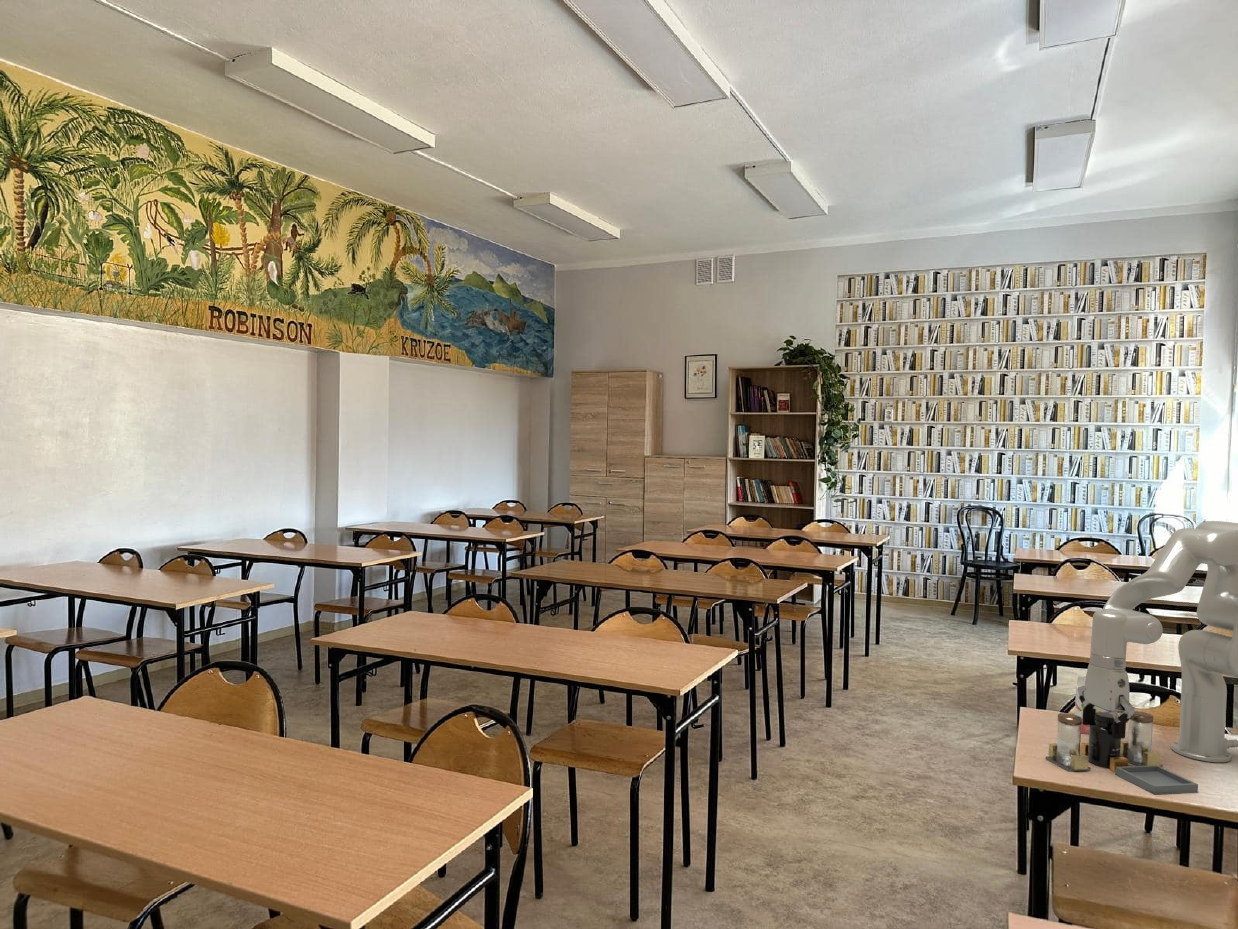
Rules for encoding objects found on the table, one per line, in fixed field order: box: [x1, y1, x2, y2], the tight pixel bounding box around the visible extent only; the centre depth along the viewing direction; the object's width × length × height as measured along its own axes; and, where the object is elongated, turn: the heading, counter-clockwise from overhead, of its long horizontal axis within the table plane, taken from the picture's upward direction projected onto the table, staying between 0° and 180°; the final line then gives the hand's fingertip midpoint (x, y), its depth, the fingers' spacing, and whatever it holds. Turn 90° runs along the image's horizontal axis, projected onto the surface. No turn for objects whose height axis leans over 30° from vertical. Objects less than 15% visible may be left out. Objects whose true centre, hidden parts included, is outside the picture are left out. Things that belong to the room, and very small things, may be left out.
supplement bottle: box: [1087, 712, 1122, 769], centre depth 204 cm, size 7×7×12 cm
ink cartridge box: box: [1074, 675, 1112, 735], centre depth 228 cm, size 9×5×15 cm, turn 84°
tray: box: [1114, 765, 1199, 795], centre depth 193 cm, size 11×11×2 cm
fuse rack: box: [1045, 710, 1164, 773], centre depth 204 cm, size 26×11×12 cm, turn 100°
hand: (1103, 731), depth 204 cm, fingers open, 9 cm apart
